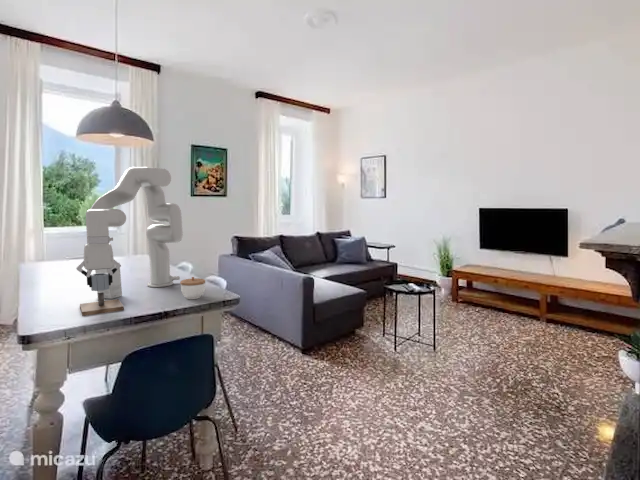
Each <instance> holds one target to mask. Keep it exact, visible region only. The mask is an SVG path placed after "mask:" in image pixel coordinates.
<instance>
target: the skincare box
mask: <svg viewBox="0 0 640 480" xmlns="http://www.w3.org/2000/svg"><path fill="white" fill-rule="evenodd" d="M118 263H119V264H120V265H121V263H120V262H118ZM115 267H116V265H115V264H114V267H113V268H115ZM113 268H111V270H112V269H113ZM94 272H95V274H97V273H109V272H108V271H107V269H99V270H94ZM112 281H113V282H112V283H111V285H109V289H107V290H102V291H96V293H97V296H98V293H100V292H104V299H108V300H114V299H115V298H116V299H117V298H120V297H122V296H123V290H122V289H123V288H122V276H121V267H120V268H119V269H118V270H117V271H116V272H115V273H114V274H113V275H112Z"/></svg>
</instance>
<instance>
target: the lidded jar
mask: <svg viewBox="0 0 640 480" xmlns="http://www.w3.org/2000/svg"><path fill="white" fill-rule="evenodd" d="M205 289H206V279H204V278H195V276H192V277H191V278H187V279H186V278H185V279H182V280H180V290H181V293H182V295H183V296H184V297H186V298H185V299H187V300H197V299H200V298H201V297H202V296H203V294H204V293H205Z"/></svg>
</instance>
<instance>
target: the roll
mask: <svg viewBox="0 0 640 480" xmlns="http://www.w3.org/2000/svg"><path fill="white" fill-rule="evenodd" d="M91 278H92V287H90V289H91V291H93V292H97V291H102V290H107V289H109V274H108V273H97V274H96V273H91Z"/></svg>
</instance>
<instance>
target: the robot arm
mask: <svg viewBox="0 0 640 480" xmlns="http://www.w3.org/2000/svg"><path fill="white" fill-rule="evenodd" d="M171 181H172V176H171V172H169V170H167V168H161V167H160V168H159V167H151V166H132V167H129V168H127V169H126V170H125V171H124V172H123V174H122V176H121V177H120V179H119V181H118V183H117V184H116V186H115V187H114V189H112V190H109V191H108V192H106V193H105V194H103V195H101V196H100V197H99V198H97V199H95V201H94V202H93V204H92V206H91V207H90V209H88V210H86V212H85V223H86V224H85V225H86V244H84V249H83V261H82V262H80V264H78V266H76V268H75V269H76V271H78V272H79V273H81V274H82V275H84V276H85V277H86V285H87V286H89V288H91V287H92V278H91V274H92V272H93V271H95V270H99V269H107V271H108V272H109V273H108V274H109V285H111V283H112V282H113V281H112V275H113V274H114V273H115V272H116V271H117V270H118V269H119V268H120V269H121V267H122V265H121V263H120V262H118V261H117V260H116V259H115V258H114V251H113V246H112V243H110V242H111V241H114V237H113V236H112V237H111V236H110V232H109V231H110V230H109V229H110V228H119V227H122V226H124V225H125V224H126V221H127V215H126V213H125V212H124V211H123V210H121V209H118V208H116V207H118V206H121V205H125V204H127V203H130V202H132V201H134V199H135V198H136V196H137V194H138V192H139V190H140V188H141V189H142V190H143V191H144V193H145V196H146V205H147V215H148V218H149V220H150V221H152V222H158V223H156V224H151V225H149V226H147V228H146V240H147V242H148V243H147V244H148V251H149V252H148V254H149V279H150V280H149V281H148V282H147V284H146V287H149V288H163V287H164V288H165V287H169V286H173V285H174V281H177V280H179V281H181V280H180V279H181V278H180V275H178V276H177V275H171V269H170V268H171V267H170V266H171V265H170V262H171V261H170V259H171V258H170V249H169V247H168V245H167V244H176V243H177V244H178V243H180V242H181V241H182V238H183V236H184V235H183V233H184V232H183V221H182V219H183V218H182V210H181V208H180V206H179V205H178V204H177V203H175V202H174V203H173V202H166V198H165V197H166V196H165V191H164V190H163V188H162V187H167V186H169V185H170V184H171ZM160 222H161V224H160ZM162 222H163V224H162ZM165 222H167V223H168V224H166V223H165ZM119 263H120V264H119ZM114 264H115V265H116V267H115V268H113V267H114ZM83 267H84V269H85V270H84V269H83ZM111 268H113V269H112V270H111ZM86 270H87V271H86Z"/></svg>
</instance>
